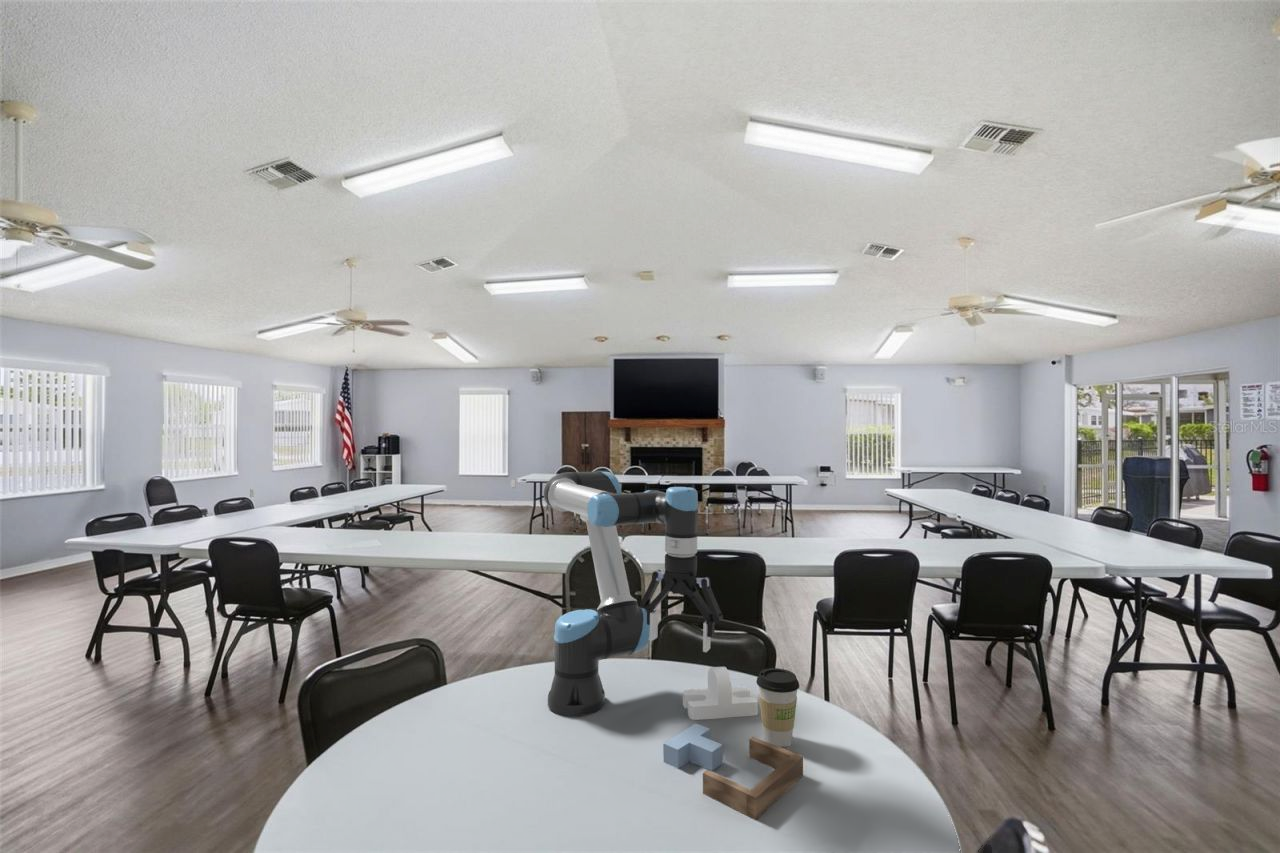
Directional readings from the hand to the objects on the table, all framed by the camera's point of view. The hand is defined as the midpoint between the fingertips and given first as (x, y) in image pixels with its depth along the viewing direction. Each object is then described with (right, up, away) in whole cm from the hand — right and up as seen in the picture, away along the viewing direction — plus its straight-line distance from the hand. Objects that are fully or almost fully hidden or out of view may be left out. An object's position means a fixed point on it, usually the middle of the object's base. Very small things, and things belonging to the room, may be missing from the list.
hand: (679, 644), depth 135 cm
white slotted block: (+12, -23, +15) cm, 30 cm away
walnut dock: (+15, -22, -18) cm, 32 cm away
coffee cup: (+23, -23, 0) cm, 32 cm away
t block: (+4, -22, -8) cm, 24 cm away
